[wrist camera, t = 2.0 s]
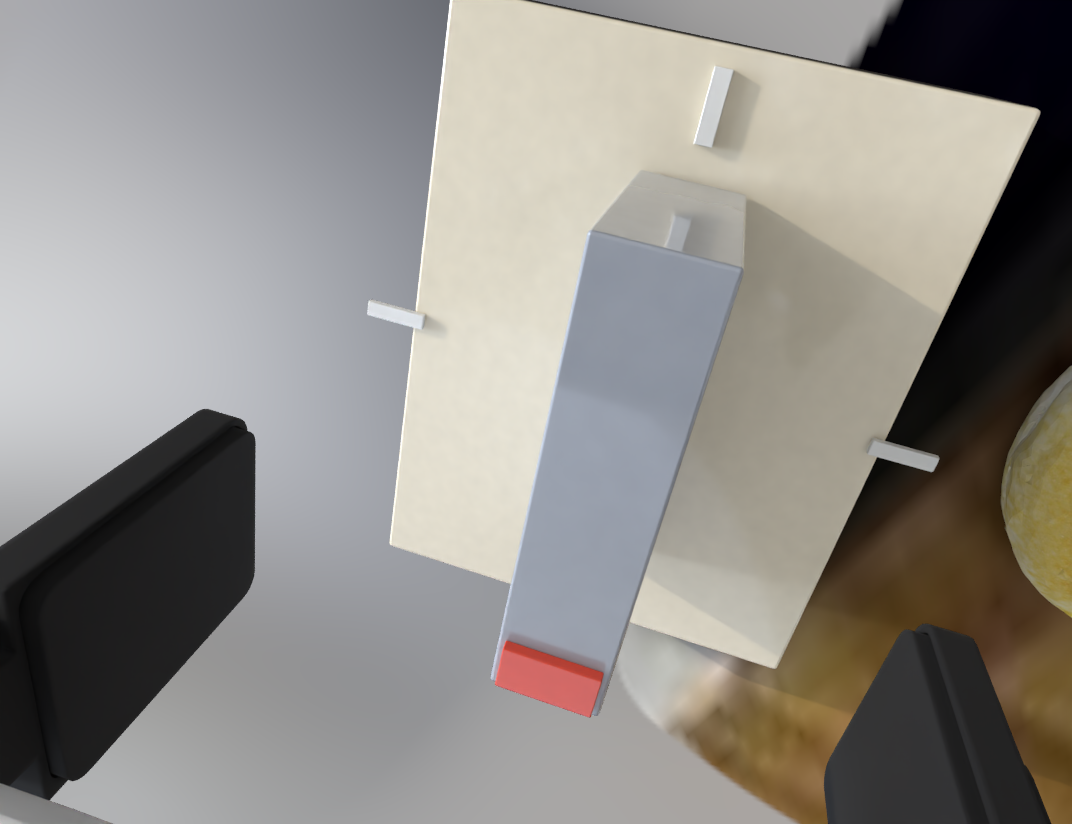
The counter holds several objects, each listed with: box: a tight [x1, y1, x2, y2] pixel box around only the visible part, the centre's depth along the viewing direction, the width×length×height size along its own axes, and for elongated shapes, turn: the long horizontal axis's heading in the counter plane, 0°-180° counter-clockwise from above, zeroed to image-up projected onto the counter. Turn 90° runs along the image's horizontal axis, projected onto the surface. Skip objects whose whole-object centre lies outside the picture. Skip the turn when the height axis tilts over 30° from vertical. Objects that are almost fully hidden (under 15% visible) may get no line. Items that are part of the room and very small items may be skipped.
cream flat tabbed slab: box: [368, 0, 1040, 669], centre depth 18 cm, size 14×13×3 cm
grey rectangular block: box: [491, 170, 747, 718], centre depth 15 cm, size 9×2×6 cm, turn 169°
